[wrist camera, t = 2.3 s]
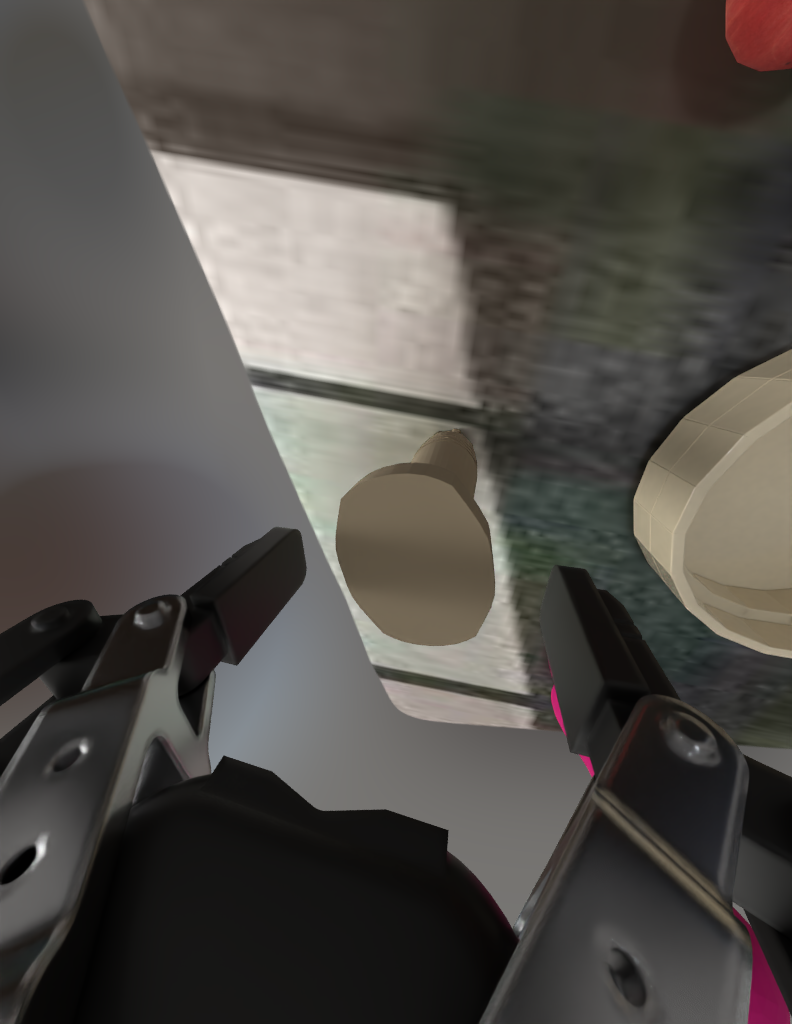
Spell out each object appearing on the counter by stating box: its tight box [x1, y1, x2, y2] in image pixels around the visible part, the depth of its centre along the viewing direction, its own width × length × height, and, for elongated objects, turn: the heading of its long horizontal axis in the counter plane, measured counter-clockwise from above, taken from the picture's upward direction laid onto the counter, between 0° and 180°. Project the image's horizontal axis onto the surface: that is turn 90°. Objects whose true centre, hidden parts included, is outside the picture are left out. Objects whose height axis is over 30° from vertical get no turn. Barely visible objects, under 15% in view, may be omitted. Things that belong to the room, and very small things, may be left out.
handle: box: [336, 429, 495, 646], centre depth 16 cm, size 5×6×15 cm
